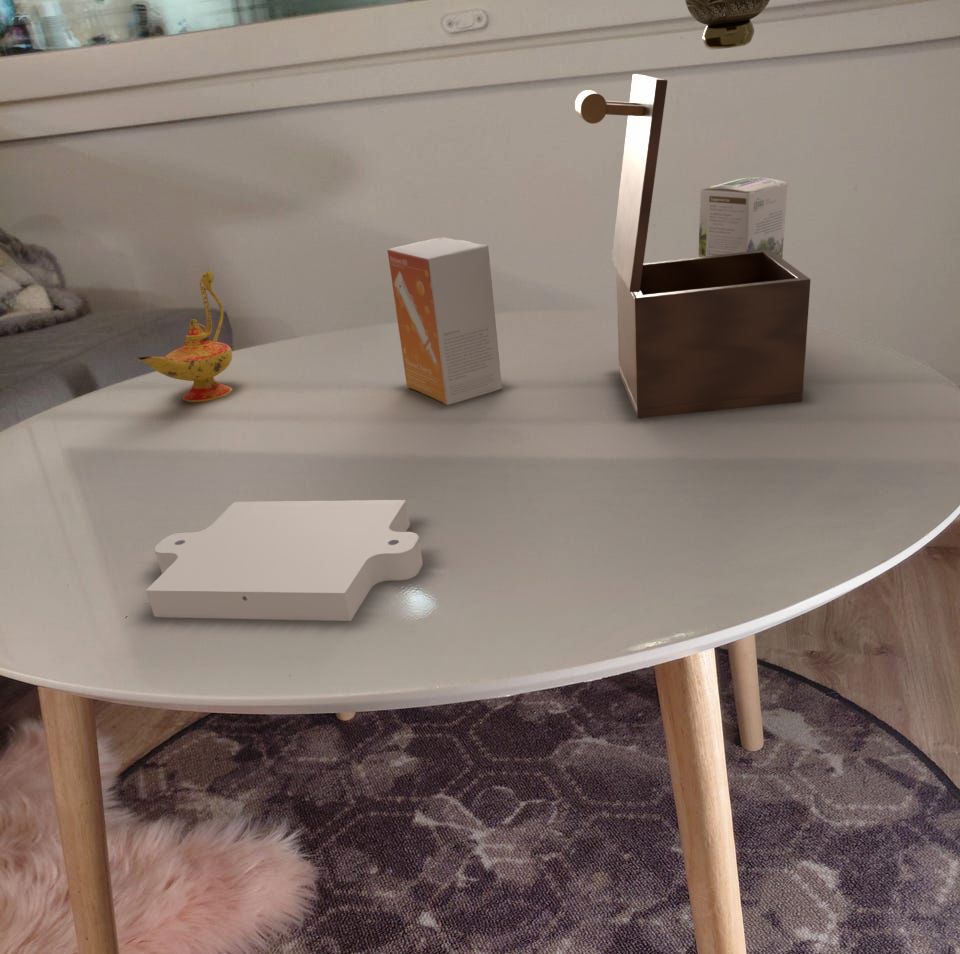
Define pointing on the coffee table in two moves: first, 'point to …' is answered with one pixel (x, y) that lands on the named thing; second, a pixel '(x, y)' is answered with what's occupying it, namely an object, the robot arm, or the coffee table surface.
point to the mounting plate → (285, 560)
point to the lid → (632, 167)
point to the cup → (726, 20)
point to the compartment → (713, 334)
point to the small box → (446, 318)
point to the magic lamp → (198, 356)
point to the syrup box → (742, 217)
